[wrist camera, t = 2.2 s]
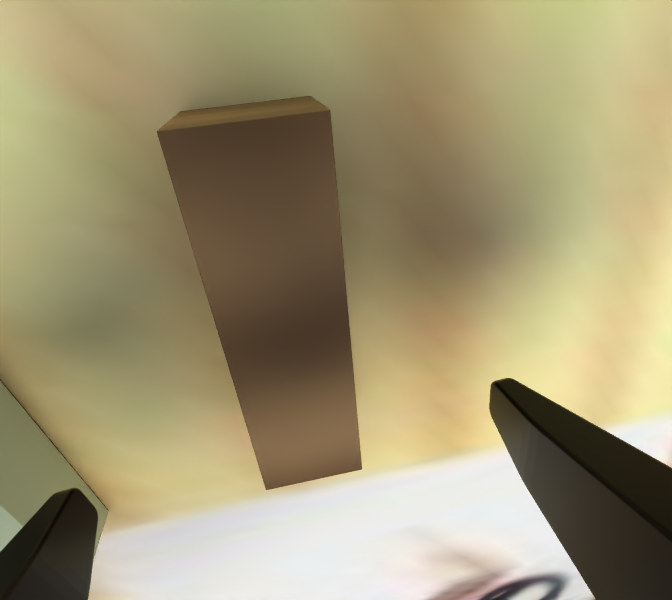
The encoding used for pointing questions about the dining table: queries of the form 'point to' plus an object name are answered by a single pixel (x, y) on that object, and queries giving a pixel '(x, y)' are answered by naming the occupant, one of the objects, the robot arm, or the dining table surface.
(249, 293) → the walnut peg
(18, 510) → the sage cradle
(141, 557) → the dining table surface
